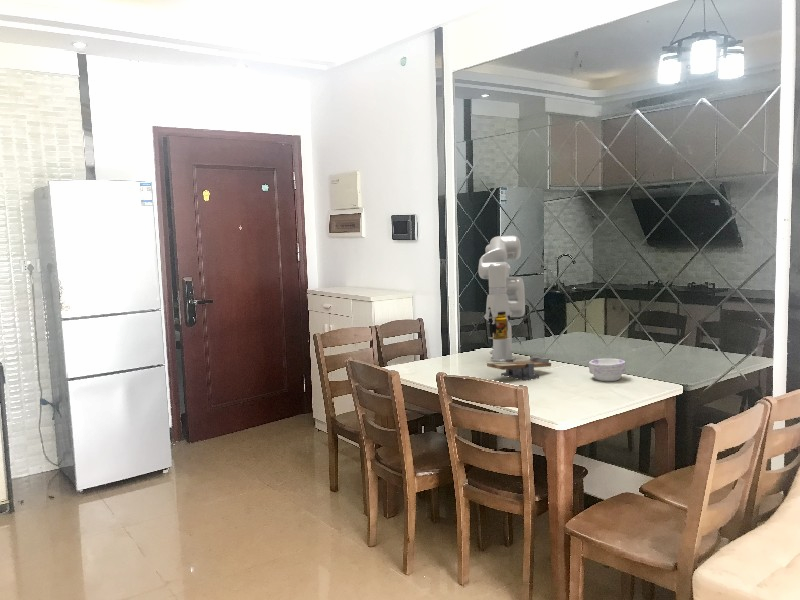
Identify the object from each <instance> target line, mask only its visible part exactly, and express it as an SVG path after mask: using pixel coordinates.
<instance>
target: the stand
mask: <svg viewBox="0 0 800 600" xmlns="http://www.w3.org/2000/svg"><path fill="white" fill-rule="evenodd" d="M506 362H513V359H507V360H506ZM500 375H501V376H502V375H504V377H506V376H509V377H508V378H511V377H513V378H512V379H515V378H518V379H517V380H520V379H522V380H521V381H524V380H528V381H532V380H531V379H533V380H536V378H537V379H540V375H537V374H535V368H534V363H527V364H526V368H520V369H505V372H501V373H500Z"/></svg>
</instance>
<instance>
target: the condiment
mask: <svg viewBox="0 0 800 600" xmlns="http://www.w3.org/2000/svg"><path fill="white" fill-rule="evenodd" d="M505 316H506V313H505V312H499V313H498V316H497V318H496V320H495V324H496V333H492V335H493V334H494V337H493V336H491V337H489V339H491V340H493V339H495V340H503V339H509V337H507V318H506V317H505Z"/></svg>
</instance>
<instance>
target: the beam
mask: <svg viewBox="0 0 800 600" xmlns="http://www.w3.org/2000/svg"><path fill="white" fill-rule="evenodd" d="M527 363H534V369H536V368H547V367H552V363H551V362H550V358H548V357H541V356H536V355H535V356H530V357H529V360H516V361H515V360H514V361H513V362H495V361H492V362H486V367H488V368H493V369H498V370H505V371H506V369H520V368H526V364H527Z"/></svg>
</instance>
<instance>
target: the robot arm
mask: <svg viewBox="0 0 800 600" xmlns="http://www.w3.org/2000/svg"><path fill="white" fill-rule="evenodd" d="M521 244H522V243H521V241H520V238H519V237H518V236H516V235H498V236H494V237H492V238H491V239H490V242H489V244H487V245H486V247H485V249H484V250H485V253H484V254H483V255H481V257H480V258H479V260H478V276H479V277H480V279H483V280H488V294H487V297H486V305H485V306H486V308H485V314H484V316H483V317H484V318H485V320H486V321H487V322H488V324H489V331H490V332H489V333H492V337H494V334H493V333H496V324H495V320H496V318H497V316H498V313H499V312H505V313H506V316H505V317H506V318H507V337H509V339H503V340H495V339H492V347H493V348H492V350H491V351H489V355H491V357H490V361H492V362H506V360H507V359H513V361H515V360H516V356H515V355H513V341H512V340H513V337H512V336H513V335H512V333H513V332H512V324H511V323H510V321H509V320H510V318H520V317H524V316H525V313H526V301H525V299H526V297H525V293H526V292H525V282H524V279H523V278H522V277H521V276H510V275H511V265H509V263H508V262H507V261H510V260H518V259H520V257H521V256H522V255H521V254H522V247H521V246H522V245H521ZM509 296H510V297H511V296H513V298H512V297H511V298H509ZM514 297H515V298H514Z"/></svg>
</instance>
